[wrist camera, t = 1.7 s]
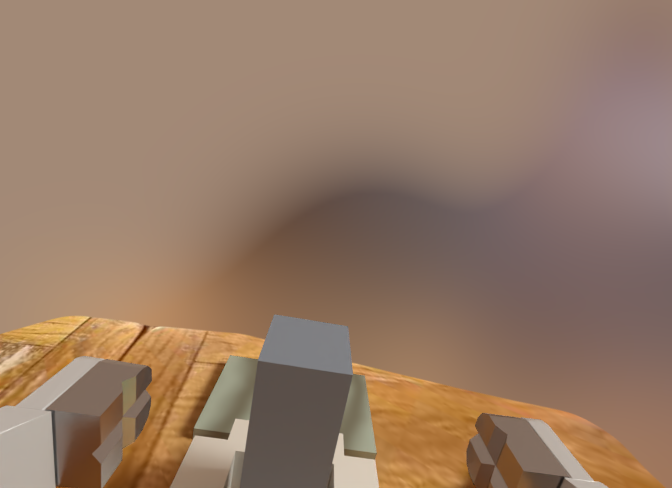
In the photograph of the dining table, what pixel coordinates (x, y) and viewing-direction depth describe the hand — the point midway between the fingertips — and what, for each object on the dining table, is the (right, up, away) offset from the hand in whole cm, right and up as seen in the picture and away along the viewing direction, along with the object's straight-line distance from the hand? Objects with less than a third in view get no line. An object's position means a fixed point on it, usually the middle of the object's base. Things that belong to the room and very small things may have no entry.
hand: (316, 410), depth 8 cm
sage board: (-5, -17, +34) cm, 38 cm away
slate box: (-5, -21, +18) cm, 28 cm away
